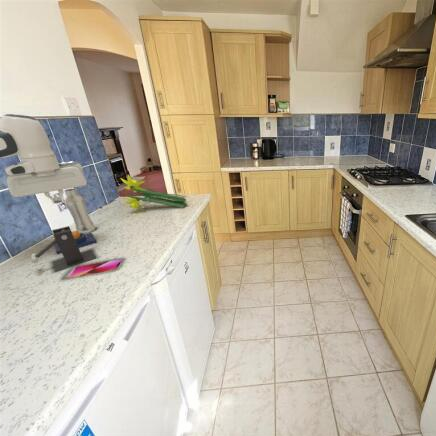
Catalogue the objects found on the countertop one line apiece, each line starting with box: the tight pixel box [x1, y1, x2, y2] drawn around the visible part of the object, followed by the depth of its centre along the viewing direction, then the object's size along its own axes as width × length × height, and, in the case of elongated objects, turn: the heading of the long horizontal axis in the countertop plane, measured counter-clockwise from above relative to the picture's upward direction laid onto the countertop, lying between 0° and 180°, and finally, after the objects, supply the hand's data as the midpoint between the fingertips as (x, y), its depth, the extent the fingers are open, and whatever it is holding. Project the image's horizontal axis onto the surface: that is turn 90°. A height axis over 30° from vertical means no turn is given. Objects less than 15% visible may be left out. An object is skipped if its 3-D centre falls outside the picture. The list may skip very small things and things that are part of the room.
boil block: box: [54, 232, 98, 255], centre depth 96 cm, size 12×10×4 cm
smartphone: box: [67, 258, 124, 279], centre depth 81 cm, size 7×1×15 cm
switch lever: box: [31, 229, 66, 264], centre depth 80 cm, size 12×5×2 cm
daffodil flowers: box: [119, 174, 187, 209], centre depth 132 cm, size 17×15×35 cm
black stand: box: [52, 225, 97, 273], centre depth 83 cm, size 11×9×13 cm
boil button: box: [71, 230, 81, 239], centre depth 95 cm, size 4×4×2 cm
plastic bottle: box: [64, 188, 96, 234], centre depth 104 cm, size 6×7×20 cm
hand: (58, 202), depth 90 cm, fingers closed
